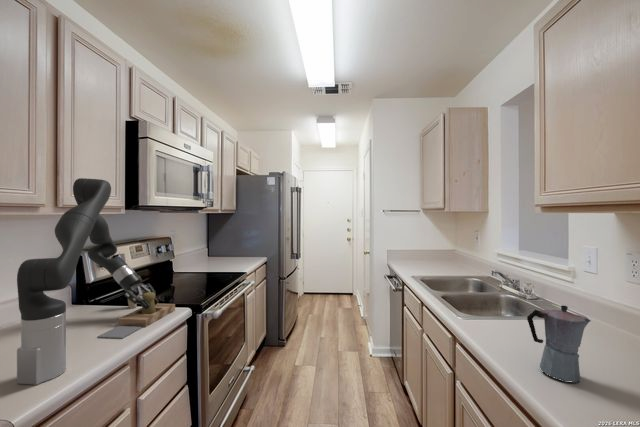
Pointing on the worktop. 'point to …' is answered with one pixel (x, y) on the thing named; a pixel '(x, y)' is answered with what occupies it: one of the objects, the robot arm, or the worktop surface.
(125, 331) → the rubber mat
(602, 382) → the worktop surface
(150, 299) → the cork
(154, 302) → the robot arm
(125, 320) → the wooden compartment tray
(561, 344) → the moka pot
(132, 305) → the handle
